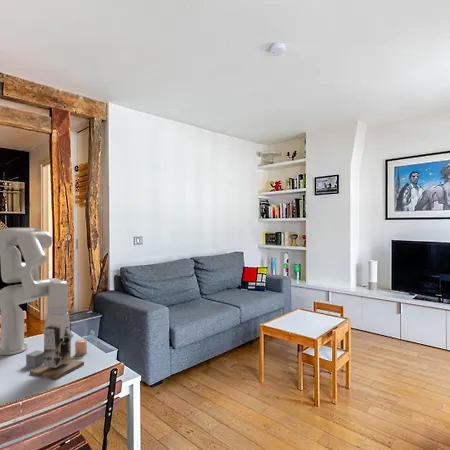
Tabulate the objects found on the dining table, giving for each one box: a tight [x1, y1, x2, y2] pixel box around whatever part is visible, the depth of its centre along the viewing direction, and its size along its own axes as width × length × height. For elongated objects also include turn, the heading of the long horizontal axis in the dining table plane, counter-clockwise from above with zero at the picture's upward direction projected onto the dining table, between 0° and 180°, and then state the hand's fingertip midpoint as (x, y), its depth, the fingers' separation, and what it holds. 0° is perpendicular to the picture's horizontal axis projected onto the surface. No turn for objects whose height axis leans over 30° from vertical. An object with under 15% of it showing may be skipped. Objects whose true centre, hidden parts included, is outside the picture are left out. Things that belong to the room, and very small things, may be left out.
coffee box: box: [43, 322, 72, 368], centre depth 137 cm, size 9×6×16 cm
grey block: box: [25, 349, 44, 369], centre depth 141 cm, size 5×5×5 cm
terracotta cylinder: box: [74, 339, 88, 357], centre depth 153 cm, size 5×5×6 cm
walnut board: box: [29, 358, 85, 381], centre depth 137 cm, size 14×15×1 cm
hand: (57, 351), depth 137 cm, fingers closed on coffee box, 7 cm apart
